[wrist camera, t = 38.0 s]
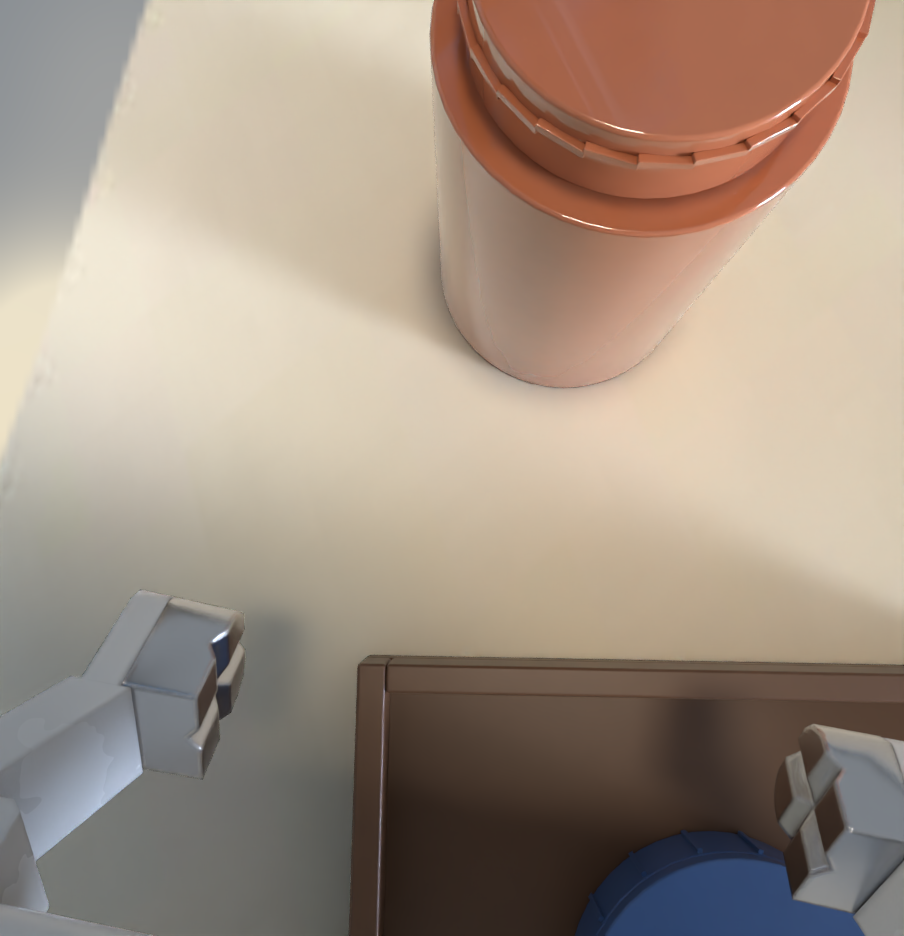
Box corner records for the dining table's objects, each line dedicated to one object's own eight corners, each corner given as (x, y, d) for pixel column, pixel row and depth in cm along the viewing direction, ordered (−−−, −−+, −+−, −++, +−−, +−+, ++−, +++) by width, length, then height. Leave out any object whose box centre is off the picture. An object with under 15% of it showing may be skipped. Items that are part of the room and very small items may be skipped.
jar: (438, 386, 20) (419, 176, 10) (443, 153, 21) (430, -270, 11) (686, 390, 20) (933, 183, 10) (681, 157, 21) (903, -265, 11)
